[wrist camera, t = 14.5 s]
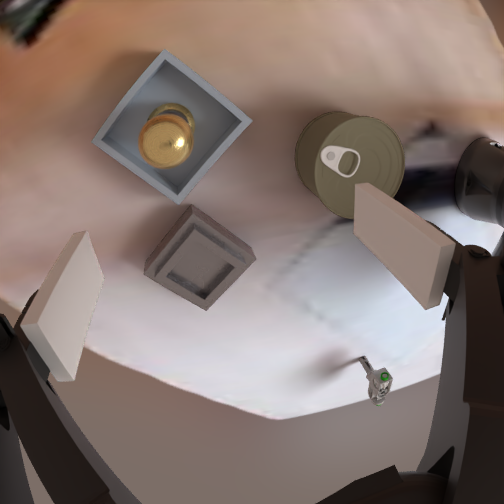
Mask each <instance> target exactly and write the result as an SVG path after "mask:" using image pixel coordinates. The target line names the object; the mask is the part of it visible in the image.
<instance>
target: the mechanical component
mask: <svg viewBox="0 0 504 504" xmlns="http://www.w3.org/2000/svg"><path fill="white" fill-rule="evenodd" d="M359 361H360V362H361V364H362V366H363V367H364V369H365V371H366V373H367V376H366V378H367V379H368V380H369V381H370V383H369V388H368V394H369V397H370V399H371V401H372V403H373V404H375V405H377V406H380V405H381V404H382V403H383V402H384V400H385V397H384V396H386V395H387V394H388V393H389V392H390V387H391V384H392V380H393V378H392V377H391V375H390V374H389V373H388V371H387V370H386V368H382V369H380V370H374V369H373V368H372V366H371V364H370V363H369V361H368V359H367V358H366V356H365V357H364V360H363V359H362V358H360V359H359ZM388 382H389V384H388Z"/></svg>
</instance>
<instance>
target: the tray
mask: <svg viewBox="0 0 504 504" xmlns="http://www.w3.org/2000/svg"><path fill="white" fill-rule="evenodd" d="M166 103H178V104H181V105H183V106H185V107H186V108H188V109H189V111H190V112H191V113H192V115H193V118H194V121H195V131H194V146H193V150H192V152H191V154H190V156H189V157H188V158H187V159H186V161H184V162H183V163H182V164H181V165H179V166H177V167H174V168H171V169H158V168H155V167H153V166H151V165H149V164H148V163H147V162H146V161H145V160H144V159H143V158H142V156H141V154H140V152H139V149H138V136H139V133H140V131H141V129H142V127H143V126H144V124H145V123H146V122H147V120H148V117H149V116H150V114H151V113H152V112H153V111H154V110H155V109H156V108H158V107H159V106H161V105H163V104H166ZM251 122H252V120H251V119H250V118H249V117H248V116H247V115H246V114H245V113H243V112H242V111H241V110H240V109H239V108H238V107H236V106H235V105H234V104H233V103H232V102H231V101H229V100H228V99H227V98H226V97H225V96H224V95H222V94H221V93H220V92H219V91H218V90H216V89H215V88H214V87H213V86H212V85H210V84H209V83H208V82H207V81H205V80H204V79H203V78H202V77H200V76H199V75H198V74H197V73H195V72H194V71H193V70H192V69H190V68H189V67H188V66H187V65H185V64H184V63H183V62H181V61H180V60H179V59H177V58H176V57H175V56H173V55H172V54H171V53H170V52H168V51H167V50H165V49H164V50H163V51H162V52H161V53H160V54H159V55H158V57H157V58H156V59H155V60H154V61H153V62H152V63H151V64H150V66H149V67H148V68H147V69H146V70H145V71H144V73H143V74H142V75H141V76H140V77H139V78H138V80H137V81H136V82H135V83H134V85H133V86H132V87H131V88H130V89H129V91H128V92H127V93H126V95H125V96H124V97H123V98H122V100H121V101H120V102H119V104H118V105H117V106H116V108H115V109H114V110H113V112H112V113H111V114H110V116H109V117H108V118H107V120H106V121H105V123H104V124H103V125H102V127H101V128H100V130H99V131H98V133H97V134H96V135H95V137H94V138H93V140H92V141H91V142H92V143H93V144H94V145H96V146H97V147H99V148H100V149H101V150H103V151H104V152H106V153H107V154H108V155H110V156H111V157H112V158H114V159H115V160H117V161H118V162H119V163H121V164H122V165H123V166H125V167H126V168H128V169H129V170H130V171H132V172H133V173H135V174H136V175H137V176H139V177H140V178H142V179H143V180H144V181H146V182H147V183H148V184H150V185H151V186H153V187H154V188H155V189H157V190H158V191H160V192H161V193H162V194H164V195H165V196H166V197H168V198H169V199H171V200H172V201H173V202H175V203H176V204H178V205H179V204H180V203H181V202H182V201H183V200H184V198H185V197H186V196H187V195H188V194H189V192H190V191H191V190H192V189H193V188H194V186H195V185H196V184H197V183H198V182H199V181H200V179H201V178H202V177H203V176H204V175H205V173H206V172H207V171H208V170H209V169H210V168H211V167H212V165H213V164H214V163H215V162H216V161H217V160H218V159H219V157H220V156H221V155H222V154H223V153H224V152H225V151H226V150H227V148H228V147H229V146H230V145H231V144H232V143H233V142H234V141H235V140H236V138H237V137H238V136H239V135H240V134H241V133H242V132H243V131H244V130H245V129H246V128H247V127H248V125H249V124H250V123H251Z"/></svg>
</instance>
